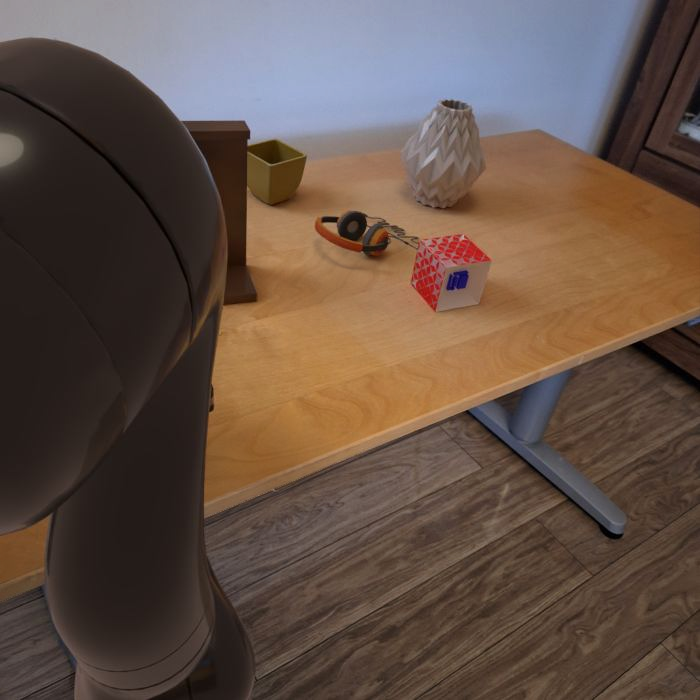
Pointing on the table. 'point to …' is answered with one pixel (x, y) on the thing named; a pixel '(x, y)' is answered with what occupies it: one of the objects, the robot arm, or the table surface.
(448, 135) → the vase
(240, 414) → the table surface
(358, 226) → the headphones
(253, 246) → the table surface
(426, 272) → the red patterned cube
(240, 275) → the rack
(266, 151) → the flower pot
